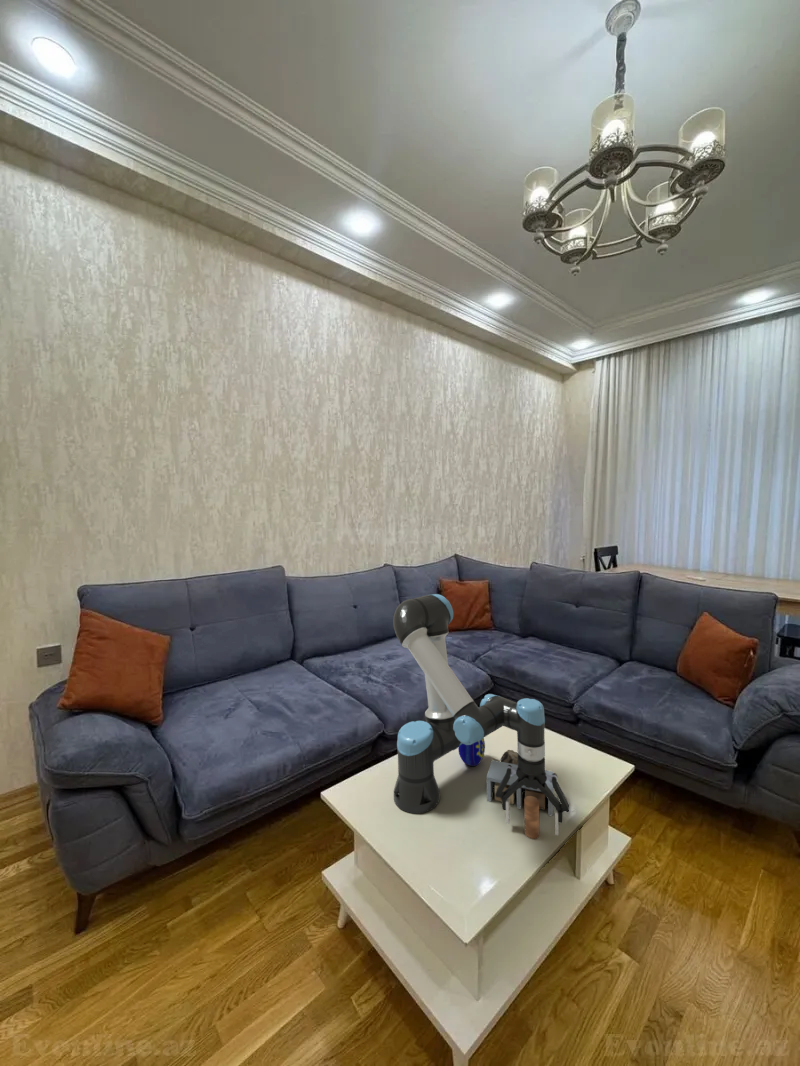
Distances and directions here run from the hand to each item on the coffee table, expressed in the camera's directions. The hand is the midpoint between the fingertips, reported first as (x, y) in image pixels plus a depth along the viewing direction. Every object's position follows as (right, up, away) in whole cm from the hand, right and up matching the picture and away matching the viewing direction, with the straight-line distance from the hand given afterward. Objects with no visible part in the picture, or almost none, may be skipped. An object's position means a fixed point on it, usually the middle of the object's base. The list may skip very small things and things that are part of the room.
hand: (531, 826), depth 124 cm
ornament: (-11, -1, +35) cm, 37 cm away
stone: (+3, -1, +28) cm, 28 cm away
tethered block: (+3, -2, +7) cm, 8 cm away
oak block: (-4, -2, +17) cm, 17 cm away
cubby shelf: (+1, -1, +15) cm, 15 cm away
